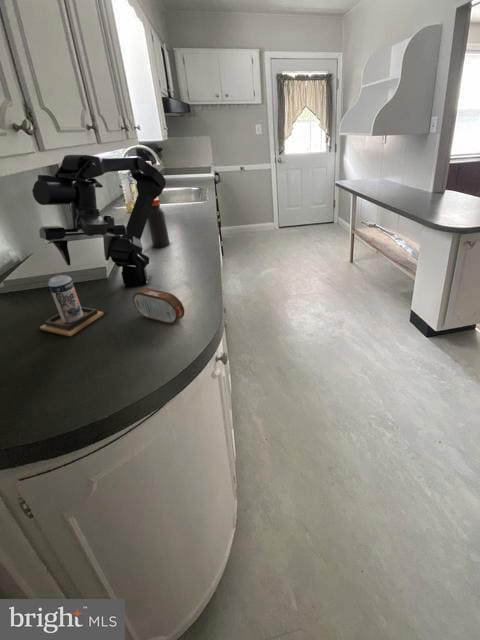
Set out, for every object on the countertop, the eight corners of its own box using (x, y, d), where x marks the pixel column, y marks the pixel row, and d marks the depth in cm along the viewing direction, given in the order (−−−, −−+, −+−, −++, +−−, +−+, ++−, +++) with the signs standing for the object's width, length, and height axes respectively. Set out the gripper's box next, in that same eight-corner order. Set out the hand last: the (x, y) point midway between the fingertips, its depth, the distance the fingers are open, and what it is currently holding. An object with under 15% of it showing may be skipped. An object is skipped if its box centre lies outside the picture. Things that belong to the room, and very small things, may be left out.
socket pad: (76, 308, 86) (74, 302, 85) (104, 314, 83) (102, 308, 82) (40, 329, 77) (37, 323, 76) (70, 336, 74) (67, 329, 73)
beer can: (69, 325, 77) (54, 284, 72) (58, 321, 79) (42, 280, 74) (87, 315, 81) (74, 275, 76) (76, 312, 83) (62, 272, 78)
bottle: (154, 243, 135) (145, 198, 127) (170, 241, 136) (162, 197, 128) (152, 248, 128) (142, 201, 121) (169, 246, 130) (160, 200, 122)
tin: (187, 321, 79) (182, 293, 76) (179, 328, 76) (173, 299, 73) (143, 310, 84) (137, 283, 81) (134, 316, 82) (127, 289, 78)
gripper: (49, 206, 67) (57, 274, 70) (134, 206, 82) (137, 262, 85) (35, 203, 74) (42, 266, 77) (116, 204, 88) (119, 256, 91)
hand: (88, 262), depth 82 cm, fingers open, 9 cm apart
